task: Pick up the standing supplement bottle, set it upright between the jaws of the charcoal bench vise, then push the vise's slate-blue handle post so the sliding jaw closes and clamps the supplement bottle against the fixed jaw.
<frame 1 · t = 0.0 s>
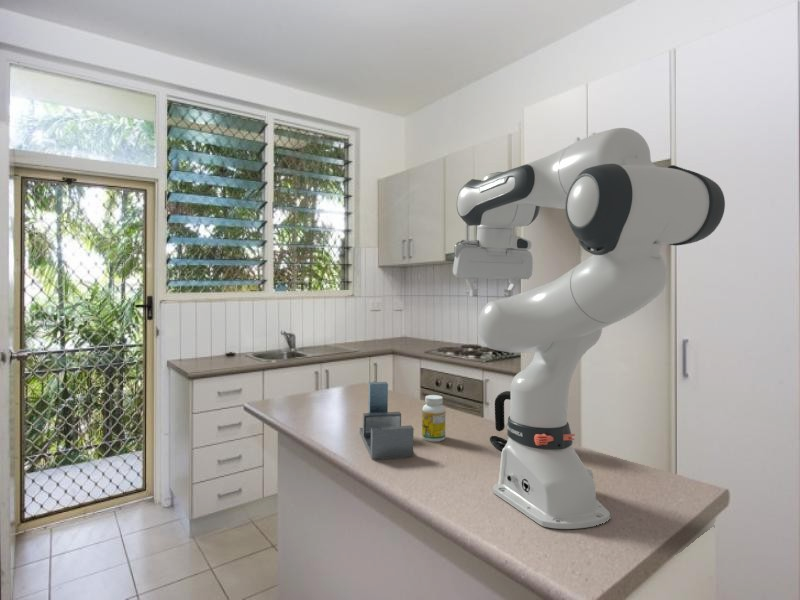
hand: (491, 296, 113), 39 cm above the counter, tool pointing down, fingers open, 8 cm apart
supplement bottle: (433, 439, 122), on the counter
vise base: (384, 444, 116), on the counter
sliding jaw: (380, 408, 122), point 8 cm above the counter, slide at 0.0 cm
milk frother: (518, 450, 114), on the counter
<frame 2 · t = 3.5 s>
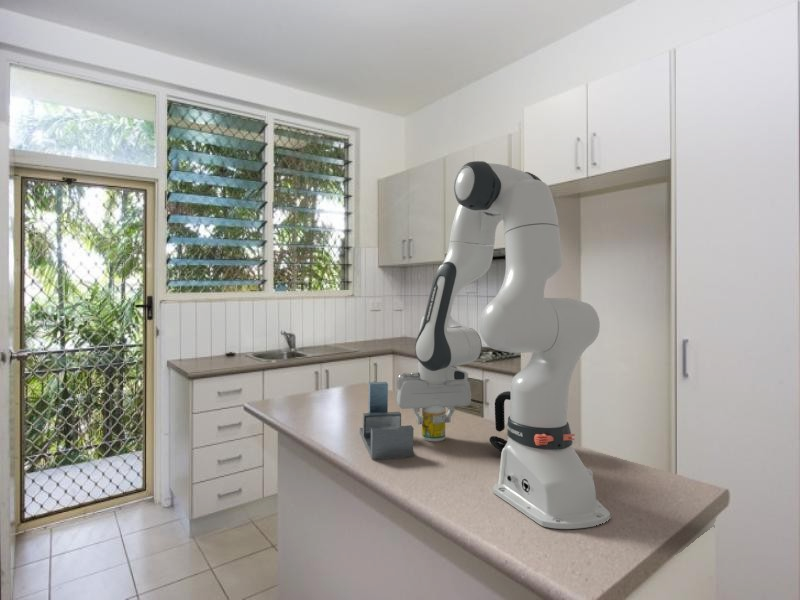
hand: (433, 423, 122), 4 cm above the counter, tool pointing down, fingers closed on supplement bottle, 6 cm apart
supplement bottle: (433, 439, 122), on the counter, touching gripper
everything else where it was.
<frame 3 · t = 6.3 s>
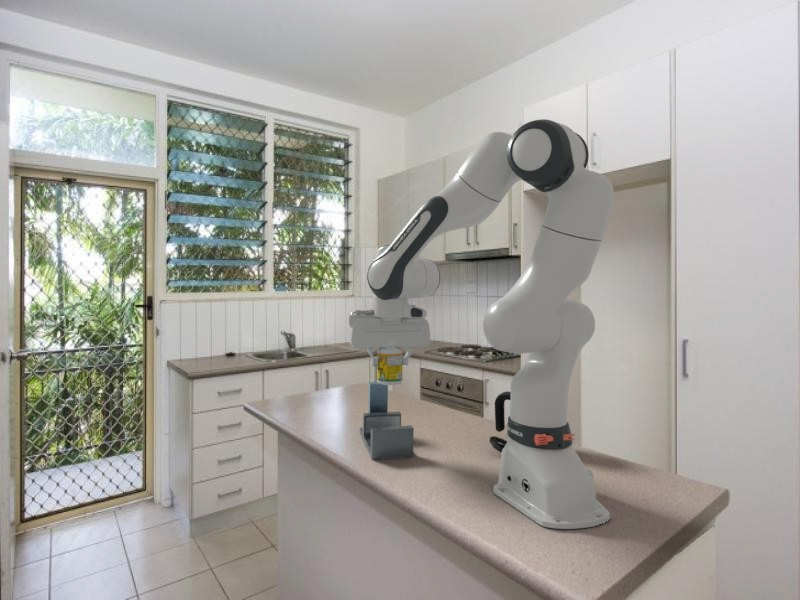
hand: (389, 365, 113), 21 cm above the counter, tool pointing down, fingers closed on supplement bottle, 6 cm apart
supplement bottle: (389, 383, 113), point 16 cm above the counter, touching gripper
everything else where it was.
when the fingers open (7 cm above the counter, at t = 9.6 s): supplement bottle moves 1 cm, resting on vise base.
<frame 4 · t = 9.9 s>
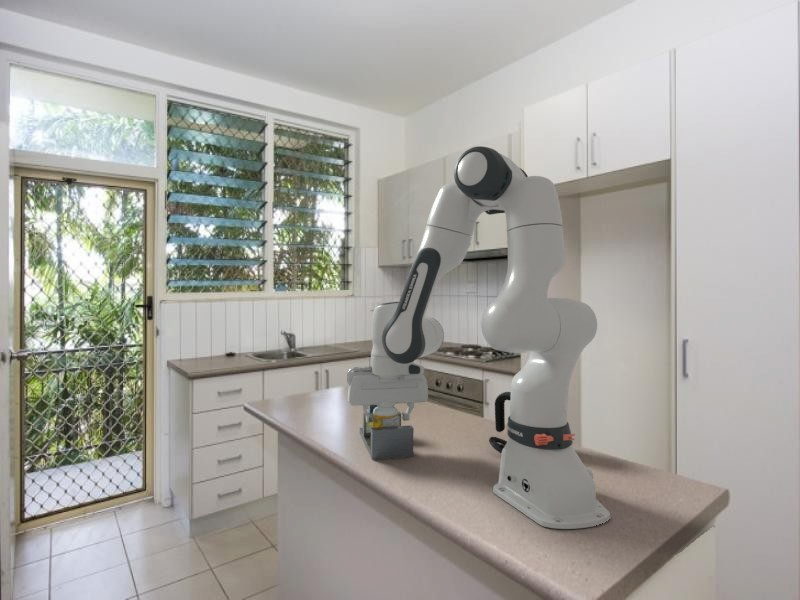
hand: (387, 421, 113), 7 cm above the counter, tool pointing down, fingers open, 8 cm apart
supplement bottle: (385, 443, 113), point 1 cm above the counter, touching vise base
everything else where it was.
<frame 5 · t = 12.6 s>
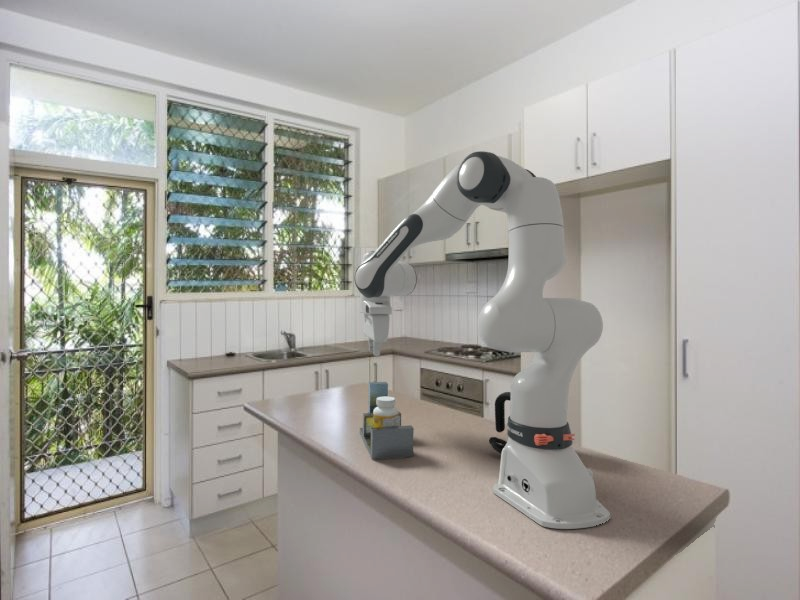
hand: (374, 353, 132), 21 cm above the counter, tool pointing down, fingers open, 5 cm apart
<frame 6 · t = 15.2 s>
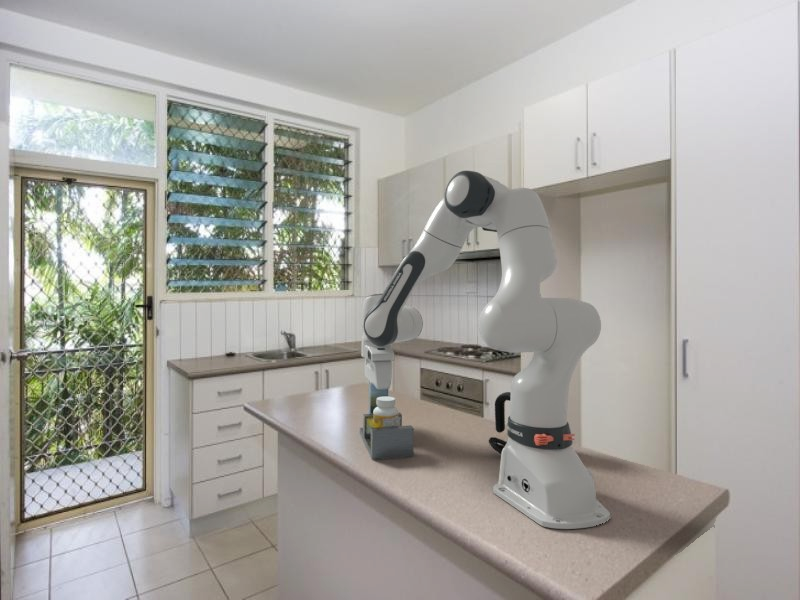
hand: (376, 398, 128), 9 cm above the counter, tool pointing down, fingers closed
sliding jaw: (380, 408, 122), point 8 cm above the counter, slide at 0.8 cm, touching gripper
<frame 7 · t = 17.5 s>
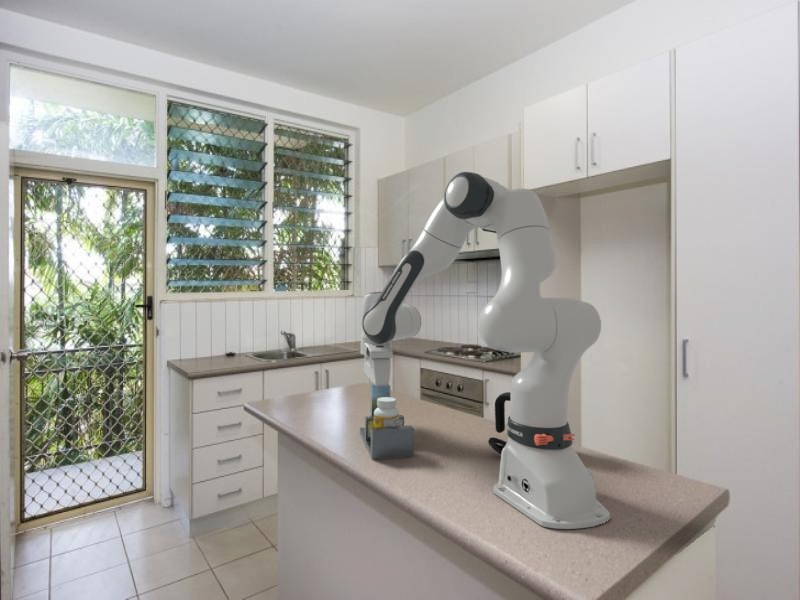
hand: (375, 395, 130), 9 cm above the counter, tool pointing down, fingers closed
sliding jaw: (382, 411, 119), point 8 cm above the counter, slide at 3.2 cm
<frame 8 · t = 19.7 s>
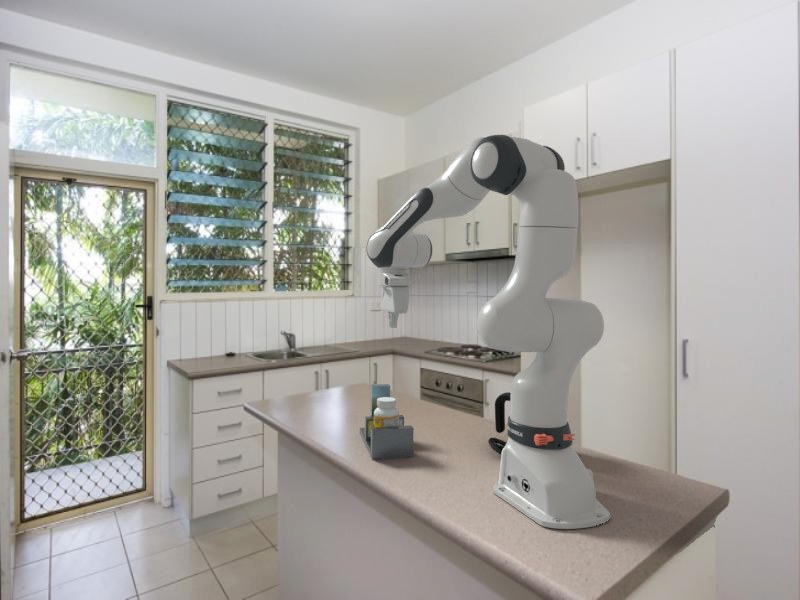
hand: (392, 327, 131), 29 cm above the counter, tool pointing down, fingers closed
at the end: sliding jaw slide at 3.2 cm; supplement bottle 0.7 cm from the target spot, point 1.3 cm above the counter; supplement bottle tilted 0° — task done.
